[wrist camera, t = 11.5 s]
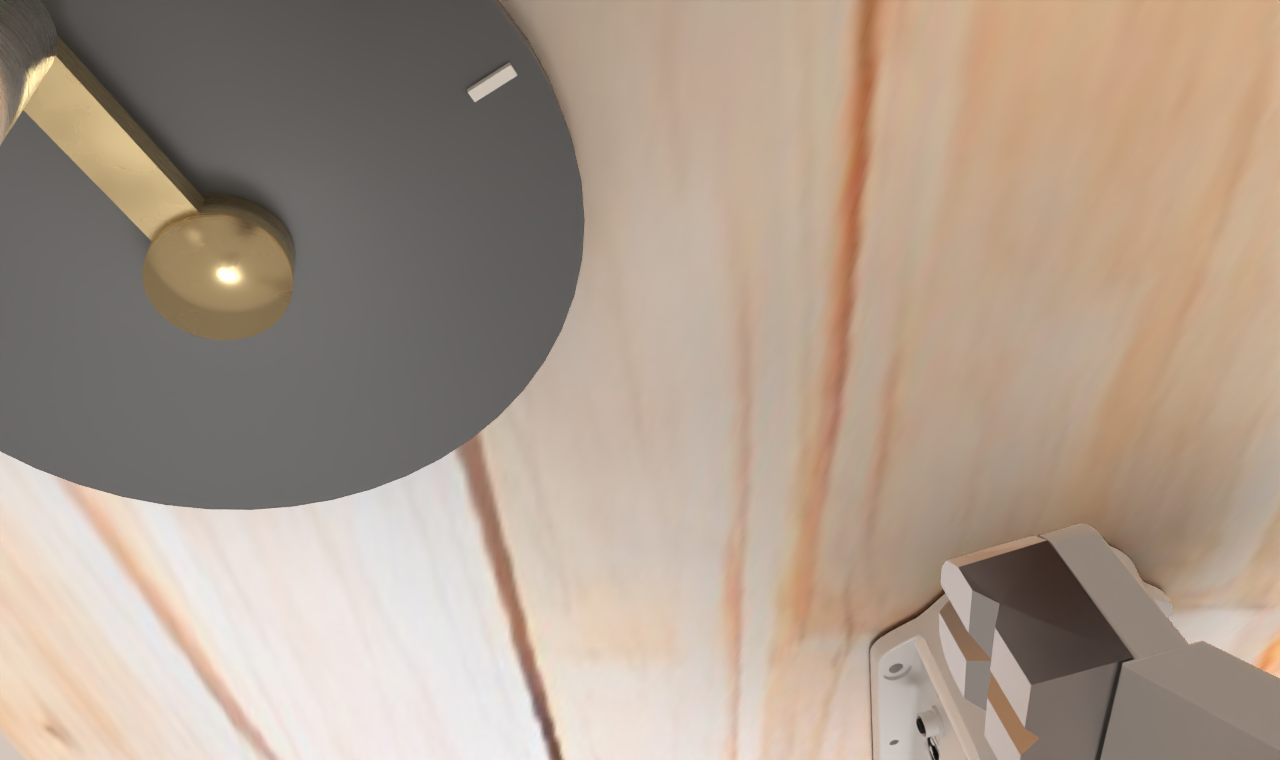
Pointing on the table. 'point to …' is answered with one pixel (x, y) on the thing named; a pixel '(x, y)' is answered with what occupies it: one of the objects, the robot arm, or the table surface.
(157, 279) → the brass lever
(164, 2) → the dial plate
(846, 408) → the table surface
